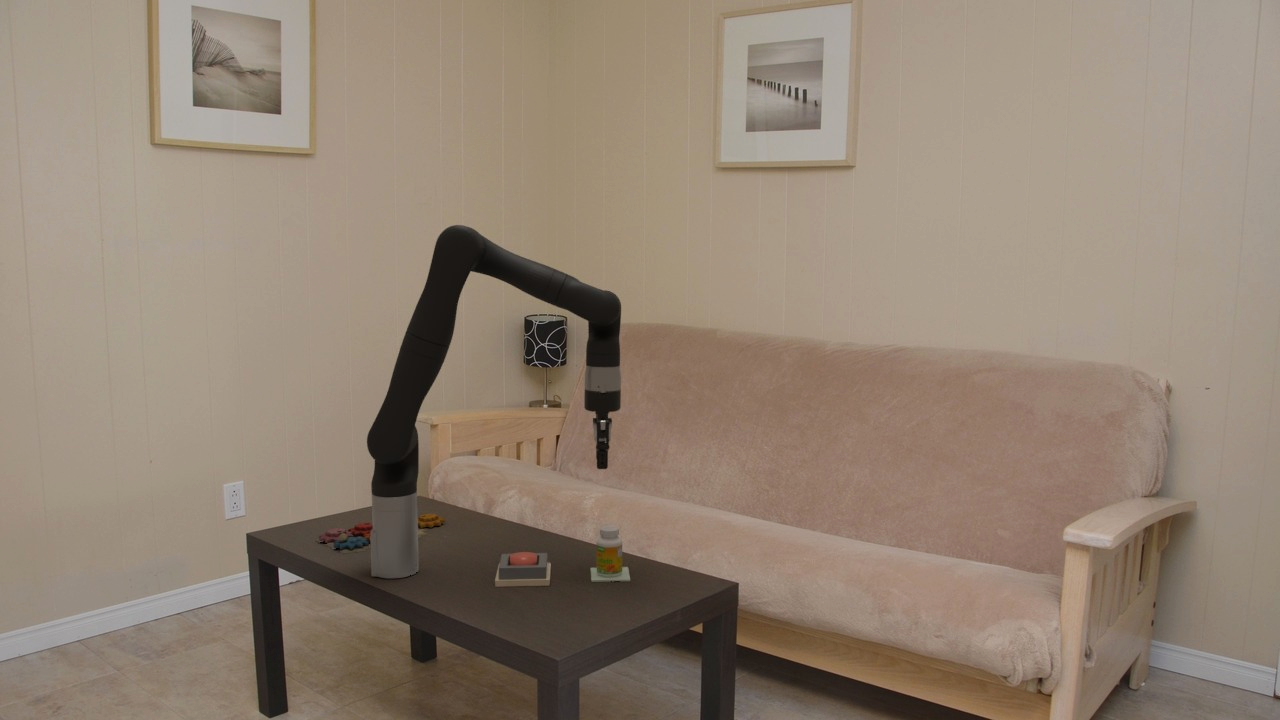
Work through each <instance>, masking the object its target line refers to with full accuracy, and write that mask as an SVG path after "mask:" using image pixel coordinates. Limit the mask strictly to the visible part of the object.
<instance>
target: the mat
mask: <svg viewBox="0 0 1280 720" xmlns="http://www.w3.org/2000/svg"><path fill="white" fill-rule="evenodd" d="M630 576H631V575H630V570H629V567H628V566H622V574H620V575H619V576H615V577H603V576H600V575H598V574H597V567H590V579H591V583H612V582H613V583H614V581H620V582H631V577H630ZM611 581H612V582H611Z"/></svg>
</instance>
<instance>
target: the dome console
mask: <svg viewBox="0 0 1280 720" xmlns="http://www.w3.org/2000/svg"><path fill="white" fill-rule="evenodd" d="M534 553H535V554H537V565H512V566H510V555H512V554H513V553H501V556H500V559H499V563H498V567H497V570H496V575H495V579H494V587H495V588H498V587H499V588H500V587H504V588H505V587H538V586H539V587H542V586H544V587H545V586H546V587H547V586H548V587H549V586H550V585H551V573H552V572H551V571H552V569H551V568H552V567H551V566H552V563H551V562H548V552H534Z"/></svg>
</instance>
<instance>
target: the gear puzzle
mask: <svg viewBox="0 0 1280 720" xmlns="http://www.w3.org/2000/svg"><path fill="white" fill-rule="evenodd" d="M445 523H446V519H444V516H438V514H436V513H426V514H421V515H420V516H419V517H418V527H419V528H420V529H418V538H420V537H421V535H426V534H427V535H428V532H424V531H427V530H426V529H425V528H427V527H428V528H433V527H434V526H435V527H436V526H441V524H445ZM423 528H424V529H423ZM372 529H373V524H372V522H361V523H359V522H358V524H355V526H354V527H352V528H348V530H346V529H345V528H342V527H341V528H337V527H335V528H331V529H328V530H326V532H324V533H322V534H319V535H318V538H317V539H318V540H319V541H326V542H325V543H327V544H334V545H332V546H333V547H334V548H340V549H339V551H340V550H341V551H344V552H345V551H346V552H349V551H353V550H356V551H357V552H358V551H362V550H366V551H367V549H364V548H368V547H371V541H370V533H371V531H372ZM427 535H426V536H427ZM369 544H370V545H369Z"/></svg>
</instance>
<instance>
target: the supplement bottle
mask: <svg viewBox="0 0 1280 720" xmlns="http://www.w3.org/2000/svg"><path fill="white" fill-rule="evenodd" d="M619 535H620V529H619V527H618V526H616V525H603V526H601V527H599V537H598V538H597V540H596V568H597V574H598V575H600V576H603V577H615V576H619V575H620V574H622V567H623V540H622V538H621V537H620V536H619Z"/></svg>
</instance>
